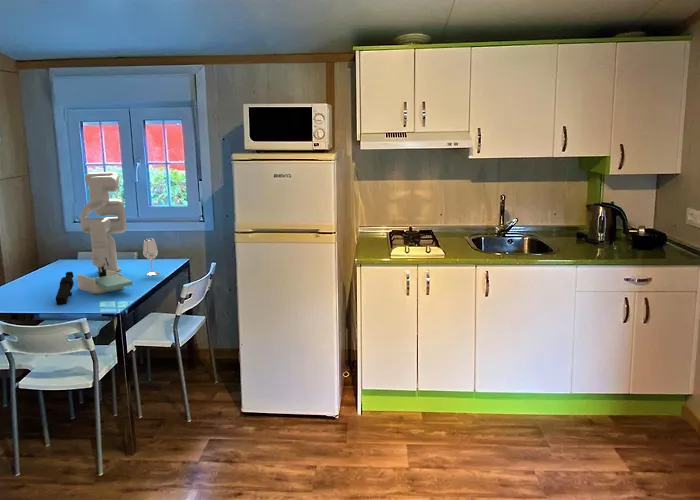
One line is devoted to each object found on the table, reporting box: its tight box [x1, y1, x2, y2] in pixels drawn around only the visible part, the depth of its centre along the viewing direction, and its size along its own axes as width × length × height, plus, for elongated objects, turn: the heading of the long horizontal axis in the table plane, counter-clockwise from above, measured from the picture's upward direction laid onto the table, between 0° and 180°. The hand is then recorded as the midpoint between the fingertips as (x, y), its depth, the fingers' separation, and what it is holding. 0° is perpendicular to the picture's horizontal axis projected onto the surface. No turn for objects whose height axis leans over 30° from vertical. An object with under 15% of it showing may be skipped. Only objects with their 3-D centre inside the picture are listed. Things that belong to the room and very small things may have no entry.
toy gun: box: [55, 271, 75, 306], centre depth 298 cm, size 6×25×10 cm, turn 13°
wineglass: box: [142, 238, 160, 276], centre depth 343 cm, size 8×8×20 cm
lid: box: [92, 274, 133, 290], centre depth 305 cm, size 16×13×2 cm
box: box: [76, 269, 125, 296], centre depth 315 cm, size 20×15×8 cm
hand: (103, 278), depth 312 cm, fingers closed
